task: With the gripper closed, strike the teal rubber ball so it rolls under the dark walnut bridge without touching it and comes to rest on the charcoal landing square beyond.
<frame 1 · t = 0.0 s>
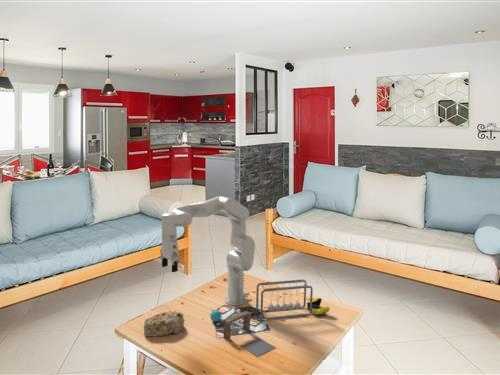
hand: (169, 268, 214), 31 cm above the table, tool pointing down, fingers open, 9 cm apart
newton's cradle: (283, 314, 234), on the table
bridge: (236, 334, 211), on the table
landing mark: (258, 347, 199), on the table
ball: (215, 315, 223), on the table
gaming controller: (317, 311, 238), on the table
rock: (164, 330, 214), on the table
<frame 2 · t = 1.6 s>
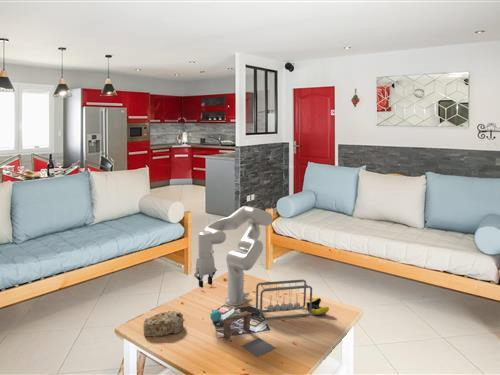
hand: (205, 285, 228), 17 cm above the table, tool pointing down, fingers open, 5 cm apart
newton's cradle: (283, 314, 234), on the table, touching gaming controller
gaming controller: (316, 311, 238), on the table, touching newton's cradle
everything else where it was.
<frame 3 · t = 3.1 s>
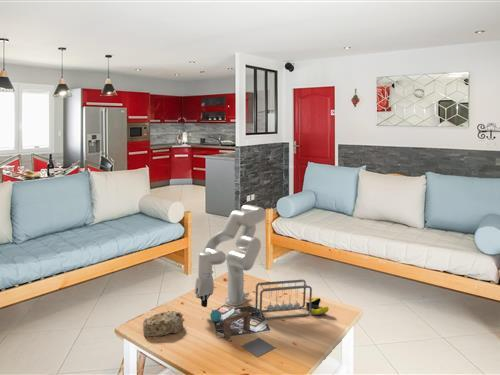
hand: (204, 306, 229), 6 cm above the table, tool pointing down, fingers closed
newton's cradle: (282, 314, 234), on the table
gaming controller: (316, 311, 238), on the table
everything else where it was.
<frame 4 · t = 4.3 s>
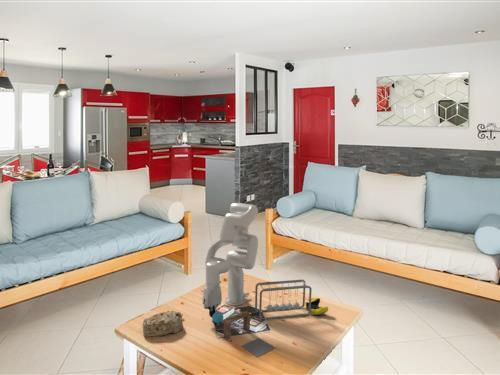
hand: (212, 316, 225), 2 cm above the table, tool pointing down, fingers closed
ball: (217, 317, 222), on the table
everything else where it was.
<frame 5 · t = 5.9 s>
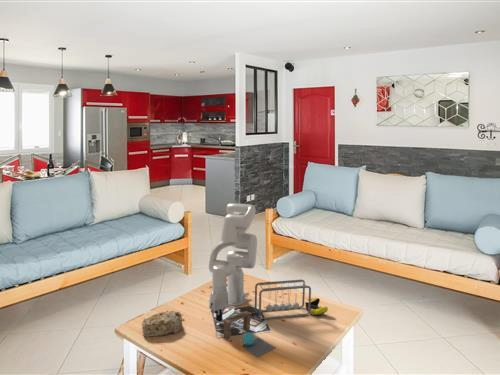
hand: (219, 320, 221), 2 cm above the table, tool pointing down, fingers closed
ball: (248, 339, 200), on the table
everything else where it was.
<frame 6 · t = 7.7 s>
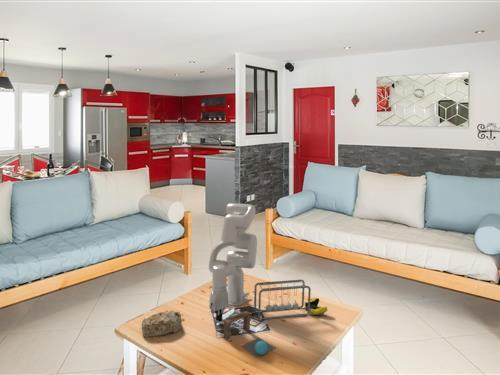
hand: (219, 320, 221), 2 cm above the table, tool pointing down, fingers closed
ball: (261, 347, 193), on the table
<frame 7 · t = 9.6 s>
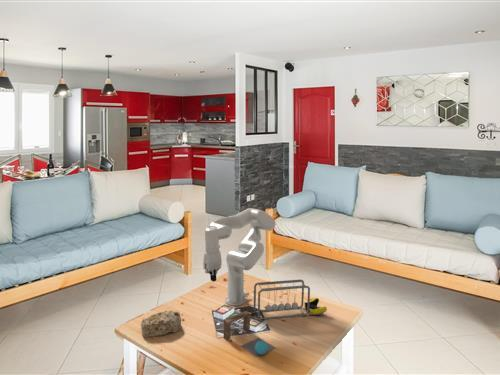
hand: (213, 280, 231), 19 cm above the table, tool pointing down, fingers closed
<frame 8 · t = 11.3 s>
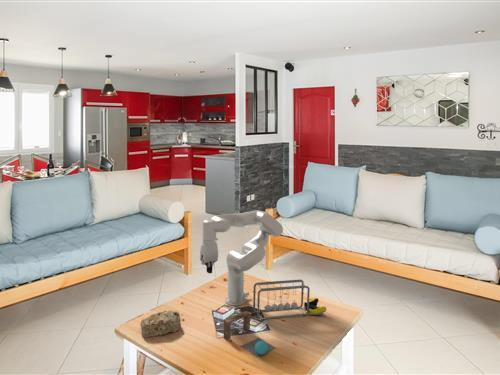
hand: (209, 272, 234), 22 cm above the table, tool pointing down, fingers closed
at the end: ball 5.8 cm from the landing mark (horizontally); ball never touched bridge; ball at rest at the end (0.0 cm/s) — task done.
